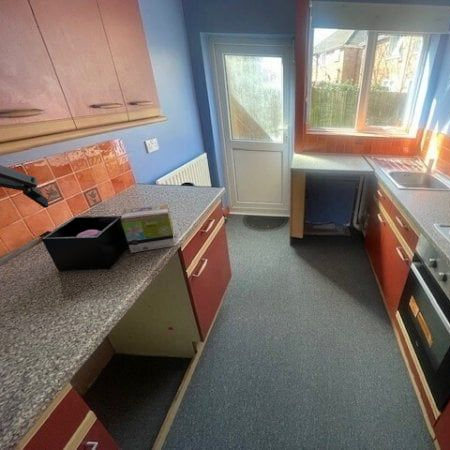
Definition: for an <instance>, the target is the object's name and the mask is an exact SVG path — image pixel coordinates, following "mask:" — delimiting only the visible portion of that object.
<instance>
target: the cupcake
mask: <svg viewBox="0 0 450 450" xmlns="http://www.w3.org/2000/svg"><path fill="white" fill-rule="evenodd" d="M100 232H101V231H98V230H87V231H85V232H82V233H80V234H78V235H77V236H76V237H89V236H97V235H98V234H99V233H100Z"/></svg>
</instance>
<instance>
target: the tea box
mask: <svg viewBox="0 0 450 450" xmlns="http://www.w3.org/2000/svg"><path fill="white" fill-rule="evenodd" d="M121 216H122V217H121V223H122V226H123V229H124V232H125V236H126V239H127V242H128V245H129V248H128V249H129V251H130V253H131V254H133V253H138V252H145V251H150V250H151V251H152V250H157V249H163V248H164V249H165V248H170V247H175V245H176V244H175V231H174V226H173V221H172V216H171V211H170V206H169V203H160V204H150V205H142V206H141V205H140V206H131V207H124V208H123V211H122V214H121Z"/></svg>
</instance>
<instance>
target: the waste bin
mask: <svg viewBox="0 0 450 450" xmlns="http://www.w3.org/2000/svg"><path fill="white" fill-rule="evenodd" d="M121 217H122V215H79V216H73V217H72V218H70V219H69V220H68V221H66V222H65V223H63V224H62V225H60V226H58V227H57V228H56V229H54V230H53V231H51V232H49V233H48V234H46V235H45V236H43V237H42V238H41V241H42V244H43V245H44V247H45V249H46V251H47V253H48V255H49V256H50V259H51V260H52V263H53V264H54V266H55V268H56V270H57V272H79V271H80V272H81V271H103V270H104V271H105V270H111V269H112V267H113V266H114V265H115V264H116V263H117V262H118V261H119V260H120V258H122V257H123V255H124V254H125V253H126V252H127V251H128V249H130V248H129V245H128V242H127V239H126V236H125V232H124V229H123V226H122V223H121ZM87 230H98V231H101V232H100V233H99V234H98V235H97V236H89V237H76V236H77V235H78V234H80V233H82V232H85V231H87Z"/></svg>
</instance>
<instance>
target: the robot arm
mask: <svg viewBox="0 0 450 450" xmlns="http://www.w3.org/2000/svg"><path fill="white" fill-rule="evenodd" d="M37 187H38V178H37V177H35V176H32V175H29V174H27V173H24V172H21V171H18V170H16V169H13V168H9V167H7V166H4V165H1V164H0V188H4V189H10V190H16V191H22V194H23V195H24V196H25V197H27V198H29V199H30V200H31V201H33V202H35V203H36V204H38V205H39V206H41V207H43V208H45V209H46V208H48V207H49V200H48V198H47V197H45V196H44V195H42V193H43V192H42V191H41V190H40V189H39V188H37Z"/></svg>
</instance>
